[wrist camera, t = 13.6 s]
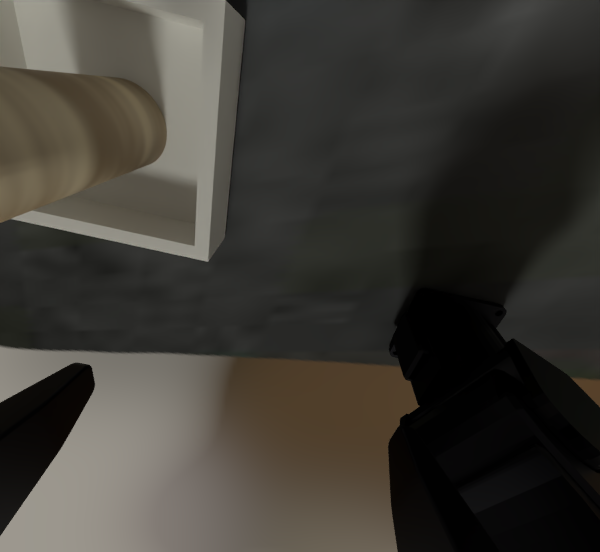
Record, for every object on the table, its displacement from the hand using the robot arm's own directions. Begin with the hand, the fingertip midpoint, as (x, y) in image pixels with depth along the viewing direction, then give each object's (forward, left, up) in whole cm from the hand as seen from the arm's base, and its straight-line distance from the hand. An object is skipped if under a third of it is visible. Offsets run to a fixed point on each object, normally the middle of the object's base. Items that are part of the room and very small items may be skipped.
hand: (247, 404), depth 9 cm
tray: (+10, -4, -13) cm, 17 cm away
